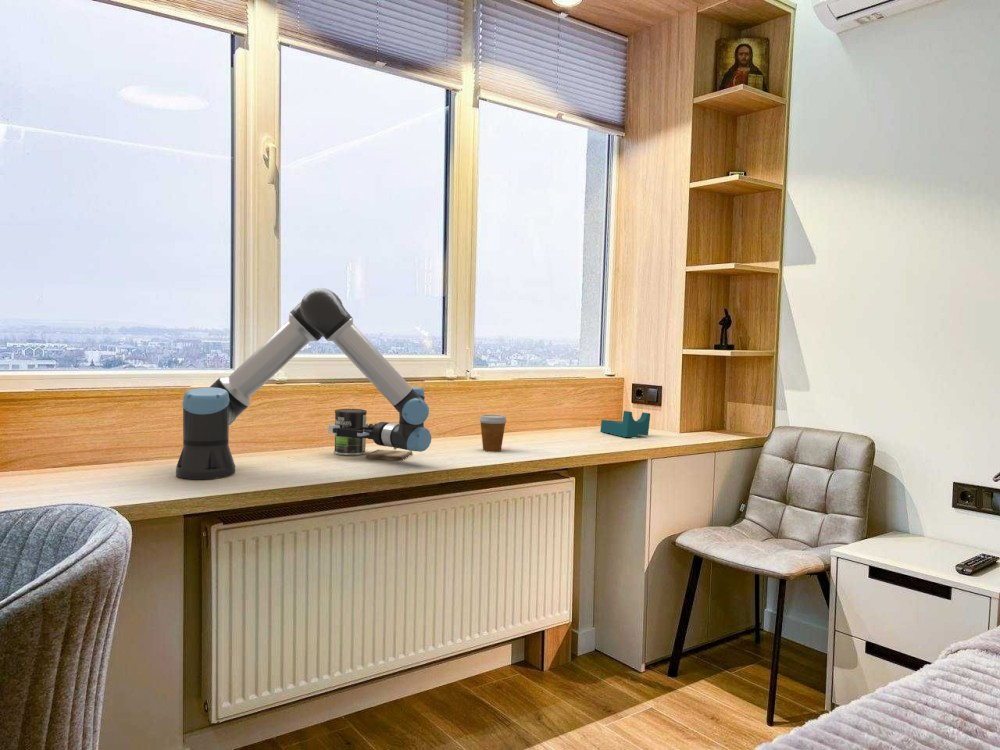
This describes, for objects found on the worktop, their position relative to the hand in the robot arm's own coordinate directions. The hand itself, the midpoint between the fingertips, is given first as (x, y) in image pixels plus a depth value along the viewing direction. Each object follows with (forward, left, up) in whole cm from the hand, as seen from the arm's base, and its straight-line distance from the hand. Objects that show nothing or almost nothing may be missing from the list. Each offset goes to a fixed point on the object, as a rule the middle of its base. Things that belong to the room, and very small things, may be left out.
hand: (341, 427), depth 248 cm
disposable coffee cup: (+48, +19, -8) cm, 52 cm away
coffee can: (+4, -2, -8) cm, 9 cm away
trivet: (+18, -4, -8) cm, 20 cm away
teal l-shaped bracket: (+94, +76, -9) cm, 121 cm away
